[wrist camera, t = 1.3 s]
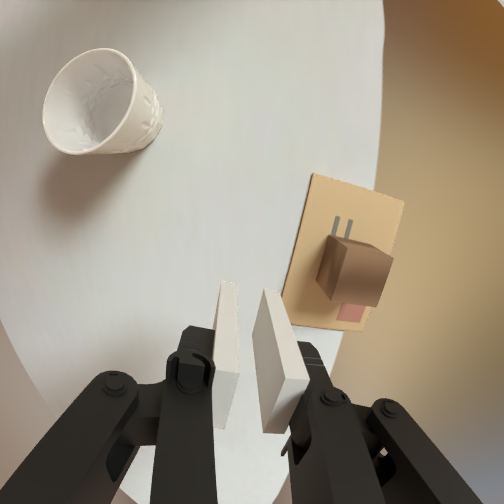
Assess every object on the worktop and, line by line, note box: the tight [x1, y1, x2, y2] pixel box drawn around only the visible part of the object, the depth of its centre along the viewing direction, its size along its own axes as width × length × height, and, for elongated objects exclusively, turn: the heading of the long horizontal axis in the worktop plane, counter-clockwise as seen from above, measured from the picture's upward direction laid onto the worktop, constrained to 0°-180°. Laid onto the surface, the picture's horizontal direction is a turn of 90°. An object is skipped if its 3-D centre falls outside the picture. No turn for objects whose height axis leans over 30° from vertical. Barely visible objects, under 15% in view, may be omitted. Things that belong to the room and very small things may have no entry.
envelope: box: [281, 173, 405, 332], centre depth 29 cm, size 16×11×1 cm
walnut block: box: [316, 235, 393, 307], centre depth 26 cm, size 5×5×5 cm
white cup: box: [42, 48, 164, 155], centre depth 19 cm, size 8×8×10 cm
